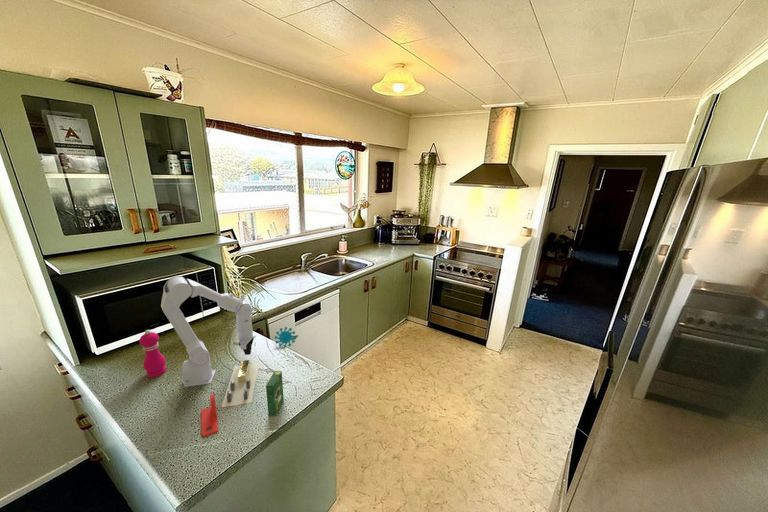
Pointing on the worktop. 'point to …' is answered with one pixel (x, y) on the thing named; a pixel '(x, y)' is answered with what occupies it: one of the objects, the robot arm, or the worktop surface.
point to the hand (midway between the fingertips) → (248, 353)
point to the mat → (241, 386)
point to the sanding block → (243, 371)
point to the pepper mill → (152, 354)
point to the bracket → (209, 418)
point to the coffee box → (274, 393)
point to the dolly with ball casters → (232, 387)
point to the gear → (285, 337)
